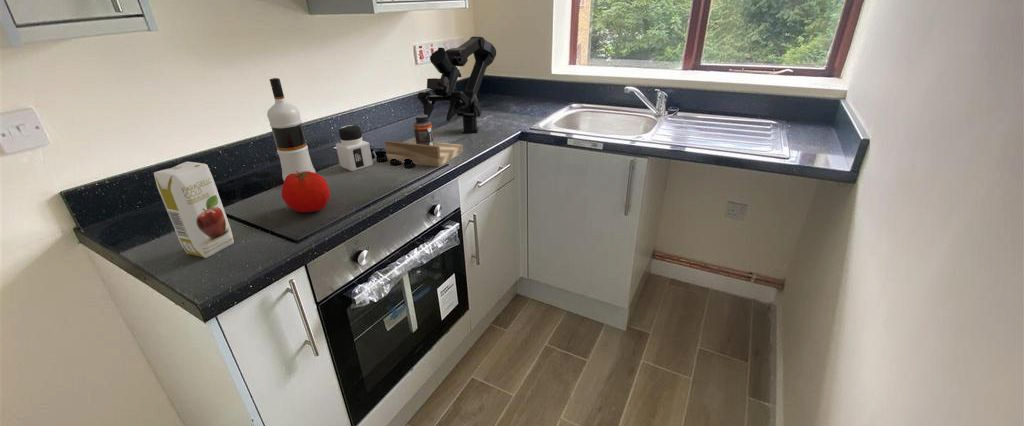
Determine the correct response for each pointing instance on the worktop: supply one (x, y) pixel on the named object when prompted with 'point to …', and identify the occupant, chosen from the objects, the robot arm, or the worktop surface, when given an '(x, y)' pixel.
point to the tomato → (305, 191)
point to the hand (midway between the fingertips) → (436, 120)
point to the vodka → (288, 134)
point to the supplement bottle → (423, 130)
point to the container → (353, 149)
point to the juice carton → (194, 208)
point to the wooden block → (423, 152)
